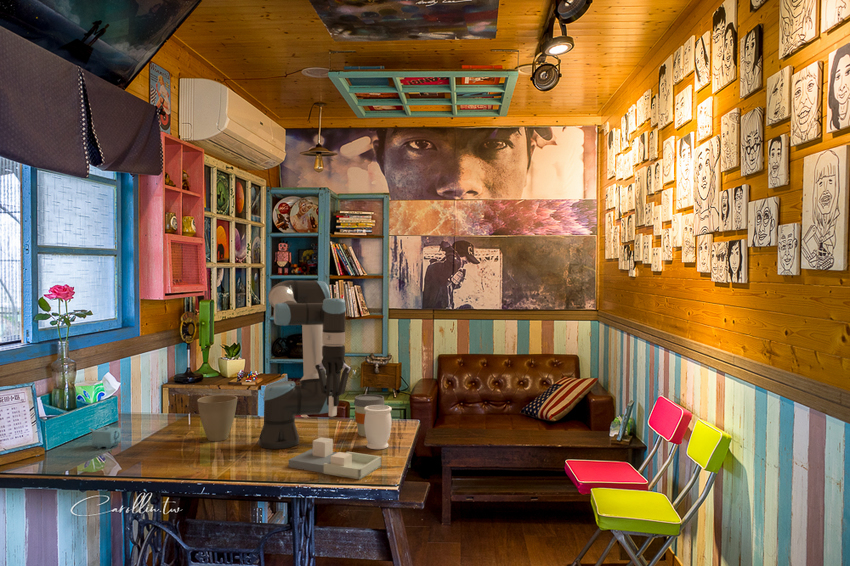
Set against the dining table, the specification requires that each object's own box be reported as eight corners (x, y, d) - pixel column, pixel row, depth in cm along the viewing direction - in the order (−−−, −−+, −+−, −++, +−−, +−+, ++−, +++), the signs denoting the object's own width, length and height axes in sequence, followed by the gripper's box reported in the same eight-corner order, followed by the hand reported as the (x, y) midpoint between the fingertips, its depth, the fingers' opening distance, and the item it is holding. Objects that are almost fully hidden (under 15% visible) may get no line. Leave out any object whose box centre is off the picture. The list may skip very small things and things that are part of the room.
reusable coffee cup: (358, 438, 226) (359, 401, 226) (349, 431, 238) (350, 395, 238) (388, 435, 231) (388, 399, 231) (378, 428, 243) (378, 393, 243)
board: (288, 467, 191) (288, 459, 191) (312, 455, 204) (312, 448, 204) (323, 473, 186) (323, 465, 186) (345, 460, 199) (345, 453, 199)
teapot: (83, 448, 209) (83, 428, 209) (93, 443, 215) (94, 424, 215) (114, 449, 208) (115, 429, 208) (124, 444, 214) (124, 424, 214)
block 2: (330, 471, 186) (330, 456, 186) (338, 466, 190) (339, 451, 190) (343, 473, 184) (344, 458, 184) (351, 468, 188) (351, 453, 188)
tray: (323, 473, 185) (323, 463, 185) (346, 460, 199) (347, 451, 199) (359, 479, 180) (360, 469, 180) (381, 466, 194) (381, 456, 194)
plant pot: (217, 432, 234) (217, 393, 234) (245, 436, 227) (245, 397, 227) (188, 441, 220) (188, 400, 220) (216, 446, 214) (217, 404, 214)
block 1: (312, 455, 196) (312, 440, 196) (320, 451, 201) (320, 437, 201) (324, 457, 194) (325, 442, 194) (332, 453, 199) (332, 439, 199)
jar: (387, 451, 210) (387, 411, 210) (360, 449, 212) (360, 409, 212) (394, 443, 220) (394, 405, 220) (368, 441, 222) (369, 403, 222)
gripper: (310, 344, 188) (309, 415, 188) (344, 347, 183) (343, 420, 183) (323, 342, 194) (322, 411, 195) (356, 344, 189) (355, 415, 190)
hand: (332, 415), depth 189 cm, fingers closed
